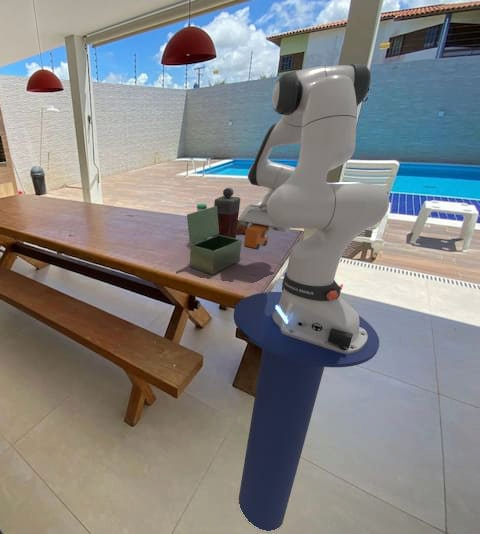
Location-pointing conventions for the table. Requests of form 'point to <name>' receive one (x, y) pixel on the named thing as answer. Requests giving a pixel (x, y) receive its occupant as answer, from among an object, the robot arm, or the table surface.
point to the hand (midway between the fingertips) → (256, 235)
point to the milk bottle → (199, 208)
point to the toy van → (255, 236)
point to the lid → (203, 224)
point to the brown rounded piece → (241, 227)
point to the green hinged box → (215, 253)
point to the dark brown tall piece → (227, 213)
